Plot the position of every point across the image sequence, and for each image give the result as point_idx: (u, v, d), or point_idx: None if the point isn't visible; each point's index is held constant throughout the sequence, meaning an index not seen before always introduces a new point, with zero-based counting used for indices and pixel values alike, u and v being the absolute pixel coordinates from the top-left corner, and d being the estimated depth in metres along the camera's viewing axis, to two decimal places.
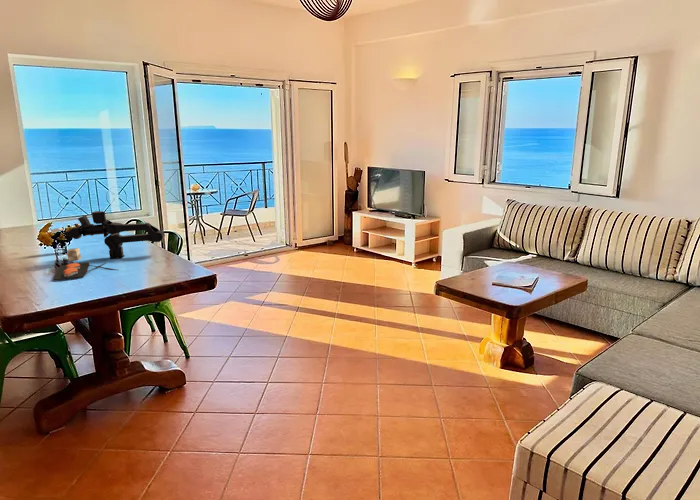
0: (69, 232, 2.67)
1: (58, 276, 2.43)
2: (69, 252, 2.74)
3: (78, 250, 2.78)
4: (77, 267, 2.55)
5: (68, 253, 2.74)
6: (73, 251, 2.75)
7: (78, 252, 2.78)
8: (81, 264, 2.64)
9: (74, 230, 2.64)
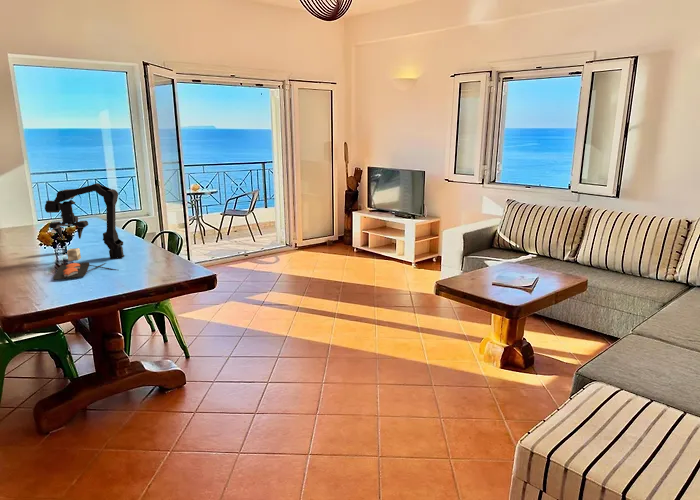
0: None
1: (58, 276, 2.43)
2: (69, 252, 2.74)
3: (78, 250, 2.78)
4: (77, 267, 2.55)
5: (68, 253, 2.74)
6: (73, 251, 2.75)
7: (78, 252, 2.78)
8: (81, 264, 2.64)
9: None
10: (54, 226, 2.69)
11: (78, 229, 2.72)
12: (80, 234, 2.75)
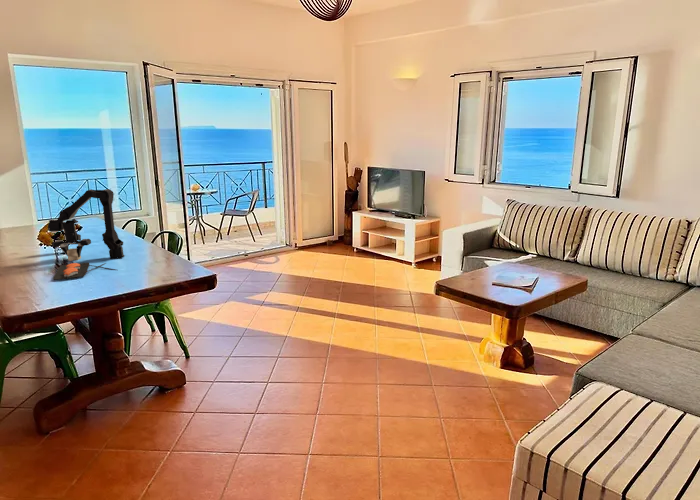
0: None
1: (58, 276, 2.43)
2: (69, 252, 2.74)
3: None
4: (77, 267, 2.55)
5: (68, 253, 2.74)
6: (73, 251, 2.75)
7: None
8: (81, 264, 2.64)
9: None
10: (57, 245, 2.72)
11: (77, 248, 2.74)
12: (79, 252, 2.77)
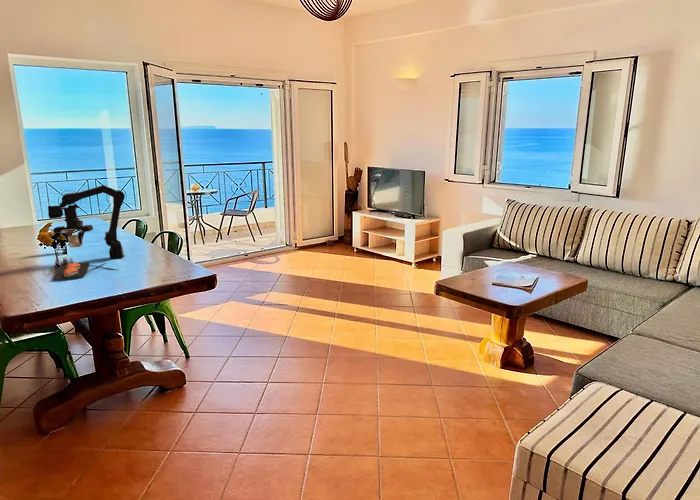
0: (67, 236, 2.67)
1: (58, 276, 2.43)
2: (70, 238, 2.65)
3: None
4: (77, 267, 2.55)
5: (69, 239, 2.65)
6: (74, 237, 2.65)
7: None
8: (81, 264, 2.64)
9: None
10: (58, 231, 2.62)
11: (79, 234, 2.64)
12: (81, 239, 2.67)
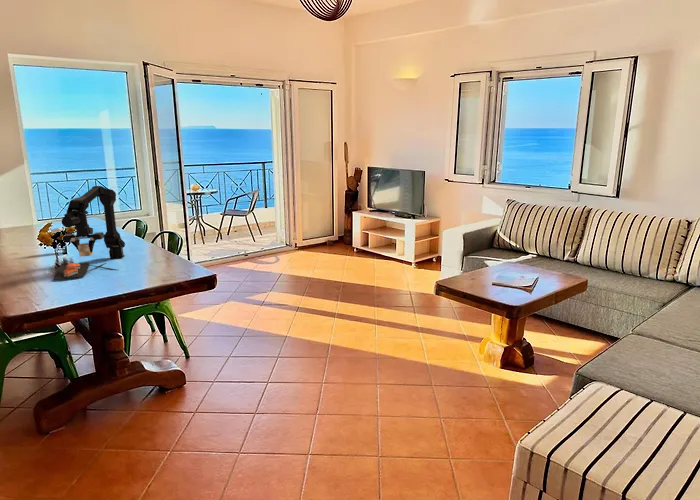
0: None
1: (58, 276, 2.43)
2: (80, 247, 2.49)
3: None
4: (77, 267, 2.55)
5: (79, 248, 2.49)
6: (85, 246, 2.49)
7: None
8: (81, 264, 2.64)
9: None
10: (68, 239, 2.46)
11: (90, 242, 2.49)
12: (92, 247, 2.51)
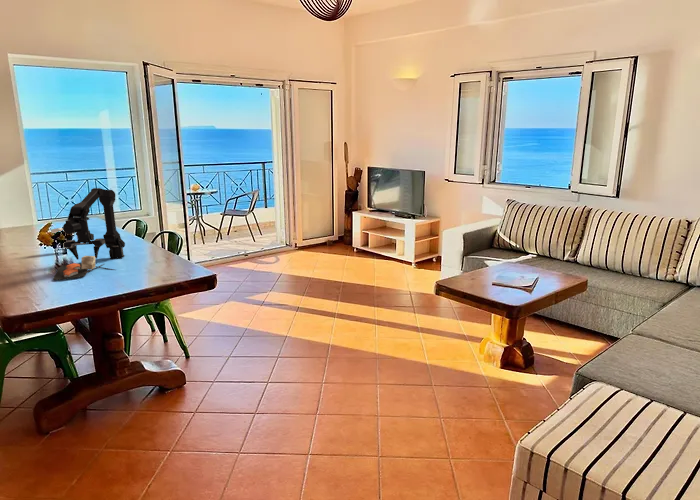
0: None
1: (58, 276, 2.43)
2: (84, 259, 2.51)
3: (94, 258, 2.54)
4: (77, 267, 2.55)
5: (82, 260, 2.51)
6: (88, 259, 2.51)
7: (93, 260, 2.54)
8: (81, 264, 2.64)
9: None
10: (69, 245, 2.47)
11: (94, 248, 2.50)
12: (97, 253, 2.53)
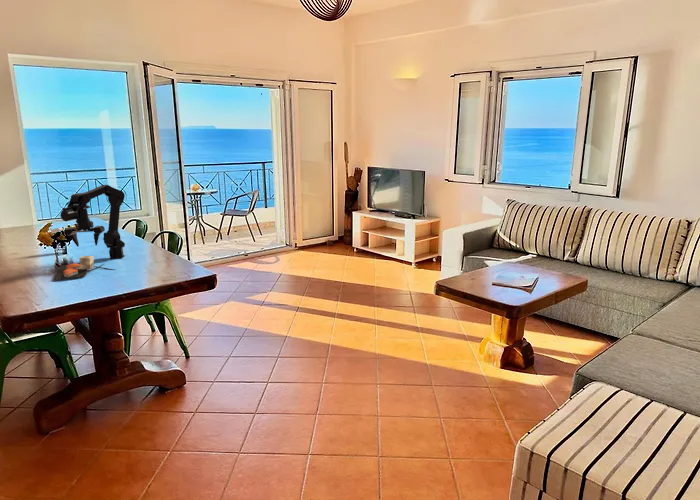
0: None
1: (58, 276, 2.43)
2: (82, 259, 2.50)
3: (92, 258, 2.54)
4: (77, 267, 2.55)
5: (81, 260, 2.50)
6: (86, 259, 2.51)
7: (91, 260, 2.54)
8: None
9: None
10: (69, 233, 2.53)
11: (94, 235, 2.56)
12: (97, 240, 2.59)
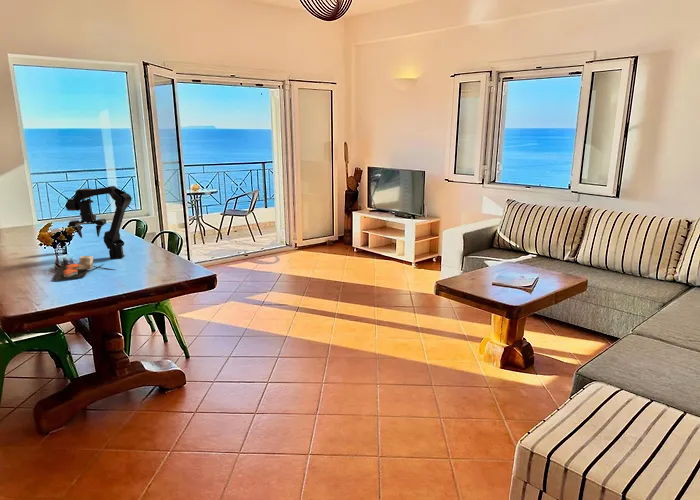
0: None
1: (58, 276, 2.43)
2: (82, 259, 2.50)
3: (91, 258, 2.54)
4: (77, 267, 2.55)
5: (80, 260, 2.50)
6: (86, 259, 2.51)
7: (91, 260, 2.54)
8: None
9: None
10: (73, 224, 2.73)
11: (97, 227, 2.76)
12: (99, 232, 2.79)
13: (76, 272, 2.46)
